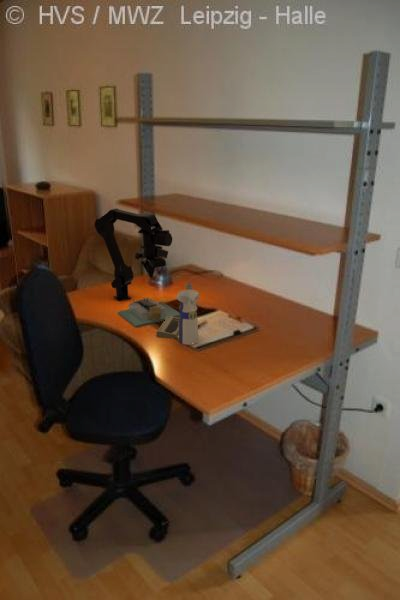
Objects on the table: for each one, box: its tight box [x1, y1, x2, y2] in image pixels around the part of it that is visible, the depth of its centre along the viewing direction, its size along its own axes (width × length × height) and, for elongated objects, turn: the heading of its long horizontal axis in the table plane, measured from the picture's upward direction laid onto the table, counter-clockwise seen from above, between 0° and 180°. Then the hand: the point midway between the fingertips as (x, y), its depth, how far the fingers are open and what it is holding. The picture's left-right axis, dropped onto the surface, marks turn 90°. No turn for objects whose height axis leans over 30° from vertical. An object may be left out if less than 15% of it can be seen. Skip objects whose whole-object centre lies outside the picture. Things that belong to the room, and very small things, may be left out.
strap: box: [137, 298, 157, 307], centre depth 202 cm, size 12×3×1 cm, turn 33°
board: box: [117, 301, 180, 329], centre depth 204 cm, size 18×22×1 cm
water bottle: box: [176, 281, 200, 346], centre depth 176 cm, size 8×9×25 cm
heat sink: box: [128, 297, 166, 321], centre depth 202 cm, size 15×11×6 cm
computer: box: [156, 316, 179, 339], centre depth 190 cm, size 16×8×3 cm, turn 169°
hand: (150, 277), depth 212 cm, fingers closed
